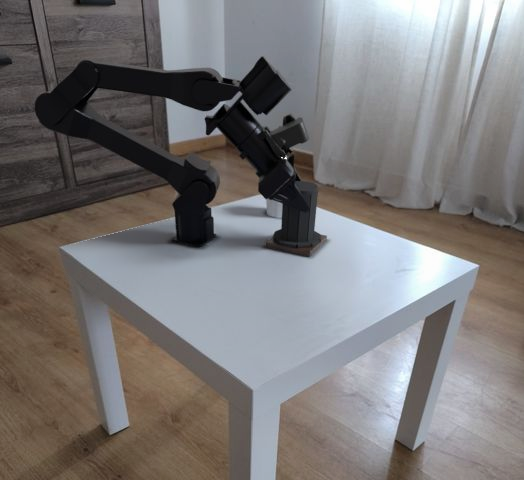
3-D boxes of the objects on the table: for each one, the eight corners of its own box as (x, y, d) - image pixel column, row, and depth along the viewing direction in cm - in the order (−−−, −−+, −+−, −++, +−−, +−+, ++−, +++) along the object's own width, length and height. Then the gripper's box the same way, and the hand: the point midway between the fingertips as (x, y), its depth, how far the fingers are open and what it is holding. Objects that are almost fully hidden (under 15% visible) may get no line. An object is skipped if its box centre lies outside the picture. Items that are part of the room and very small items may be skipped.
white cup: (292, 220, 105) (294, 187, 101) (261, 217, 106) (261, 184, 102) (297, 209, 110) (299, 178, 106) (267, 207, 111) (268, 175, 107)
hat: (291, 251, 88) (294, 196, 83) (264, 234, 95) (266, 182, 89) (330, 242, 92) (336, 189, 87) (302, 227, 99) (306, 176, 93)
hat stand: (265, 247, 92) (266, 216, 89) (284, 231, 99) (286, 202, 96) (309, 256, 89) (312, 225, 86) (326, 240, 96) (329, 210, 92)
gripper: (282, 109, 72) (347, 187, 79) (282, 92, 88) (337, 158, 94) (229, 162, 77) (295, 232, 83) (239, 137, 92) (293, 197, 98)
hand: (307, 202), depth 90 cm, fingers open, 9 cm apart
